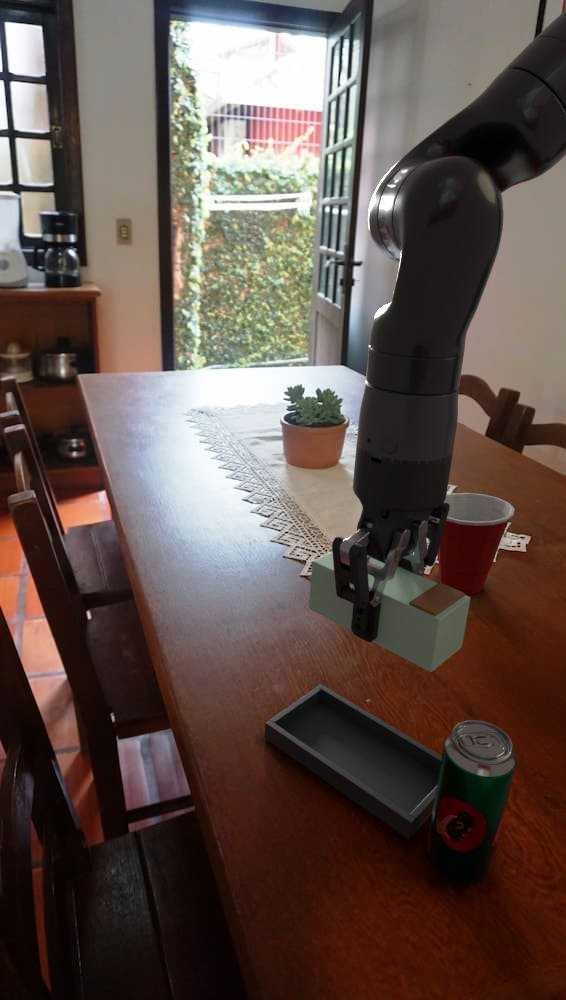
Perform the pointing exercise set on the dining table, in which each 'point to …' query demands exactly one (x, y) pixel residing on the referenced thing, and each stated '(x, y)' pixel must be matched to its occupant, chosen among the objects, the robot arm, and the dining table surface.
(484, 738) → the soda can
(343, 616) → the pencil box
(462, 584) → the plastic cup
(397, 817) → the tray
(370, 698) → the dining table surface
